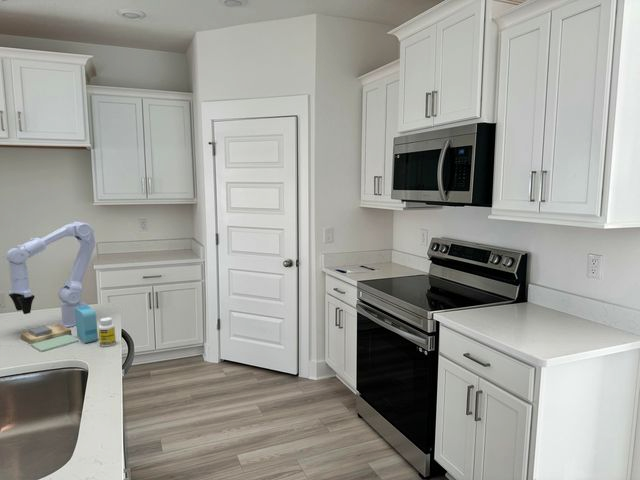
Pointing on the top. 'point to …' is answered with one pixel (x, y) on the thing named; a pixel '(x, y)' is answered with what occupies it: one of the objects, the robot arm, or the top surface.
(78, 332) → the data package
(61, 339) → the green mat
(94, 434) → the top surface
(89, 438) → the top surface
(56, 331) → the oak board
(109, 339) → the supplement bottle
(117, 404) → the top surface
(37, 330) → the slate tile
